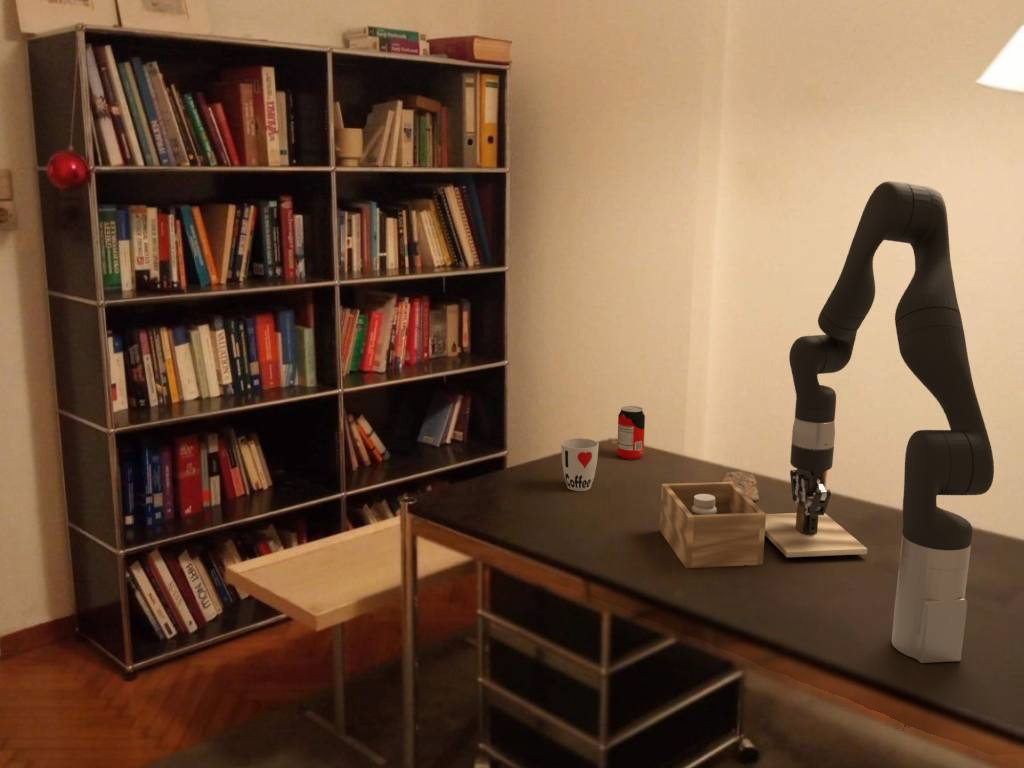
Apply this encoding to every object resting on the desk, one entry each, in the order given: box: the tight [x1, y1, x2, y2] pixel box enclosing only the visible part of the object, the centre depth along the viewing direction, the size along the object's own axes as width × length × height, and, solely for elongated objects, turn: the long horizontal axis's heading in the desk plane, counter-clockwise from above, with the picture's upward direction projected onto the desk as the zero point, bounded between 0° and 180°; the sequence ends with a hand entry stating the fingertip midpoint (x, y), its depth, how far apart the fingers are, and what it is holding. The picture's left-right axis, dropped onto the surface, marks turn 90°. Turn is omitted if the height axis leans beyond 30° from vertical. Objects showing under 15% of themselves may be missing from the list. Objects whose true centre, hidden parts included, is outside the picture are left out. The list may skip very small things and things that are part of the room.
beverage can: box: [616, 405, 646, 461], centre depth 238 cm, size 6×6×12 cm
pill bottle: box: [691, 494, 717, 515], centre depth 188 cm, size 5×5×8 cm
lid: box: [765, 503, 868, 558], centre depth 187 cm, size 19×15×6 cm
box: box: [659, 481, 767, 569], centre depth 184 cm, size 18×14×10 cm
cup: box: [560, 437, 600, 492], centre depth 217 cm, size 8×8×10 cm
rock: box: [718, 470, 760, 502], centre depth 213 cm, size 9×6×10 cm
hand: (806, 529), depth 187 cm, fingers closed on lid, 3 cm apart
